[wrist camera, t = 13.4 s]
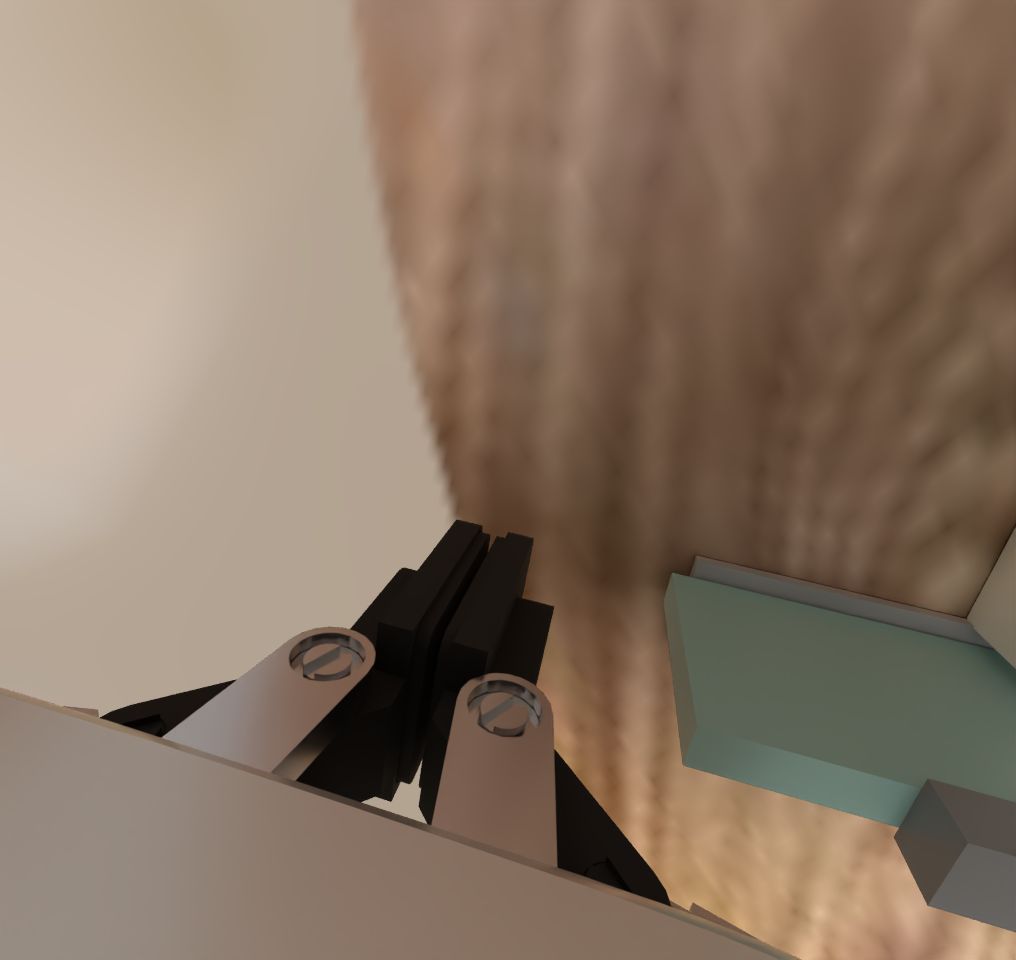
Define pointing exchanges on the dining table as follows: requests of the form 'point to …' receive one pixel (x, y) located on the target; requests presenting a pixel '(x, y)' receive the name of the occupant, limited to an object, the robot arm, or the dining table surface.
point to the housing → (990, 624)
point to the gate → (857, 729)
